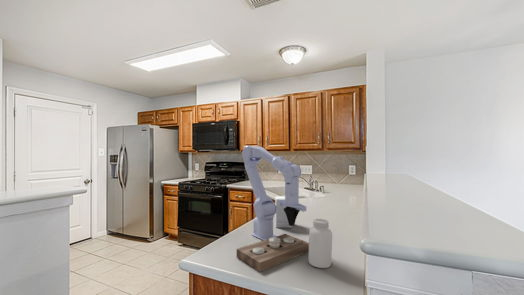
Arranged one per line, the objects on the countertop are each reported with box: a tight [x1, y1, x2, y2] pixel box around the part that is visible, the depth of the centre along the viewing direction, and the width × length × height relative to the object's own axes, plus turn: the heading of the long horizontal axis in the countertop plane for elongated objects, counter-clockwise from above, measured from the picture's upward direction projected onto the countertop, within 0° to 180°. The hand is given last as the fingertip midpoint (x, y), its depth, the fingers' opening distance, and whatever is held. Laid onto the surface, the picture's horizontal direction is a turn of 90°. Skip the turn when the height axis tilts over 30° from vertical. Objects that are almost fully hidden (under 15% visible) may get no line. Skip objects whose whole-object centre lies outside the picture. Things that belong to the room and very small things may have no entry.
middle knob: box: [269, 237, 280, 250], centre depth 89 cm, size 4×4×3 cm
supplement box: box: [274, 195, 293, 229], centre depth 124 cm, size 9×9×15 cm
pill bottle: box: [307, 218, 333, 269], centre depth 81 cm, size 8×8×15 cm
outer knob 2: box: [283, 238, 294, 244], centre depth 94 cm, size 4×4×3 cm
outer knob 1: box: [253, 248, 264, 256], centre depth 84 cm, size 4×4×3 cm
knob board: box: [236, 233, 309, 273], centre depth 89 cm, size 14×26×3 cm, turn 129°
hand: (291, 225), depth 97 cm, fingers closed
